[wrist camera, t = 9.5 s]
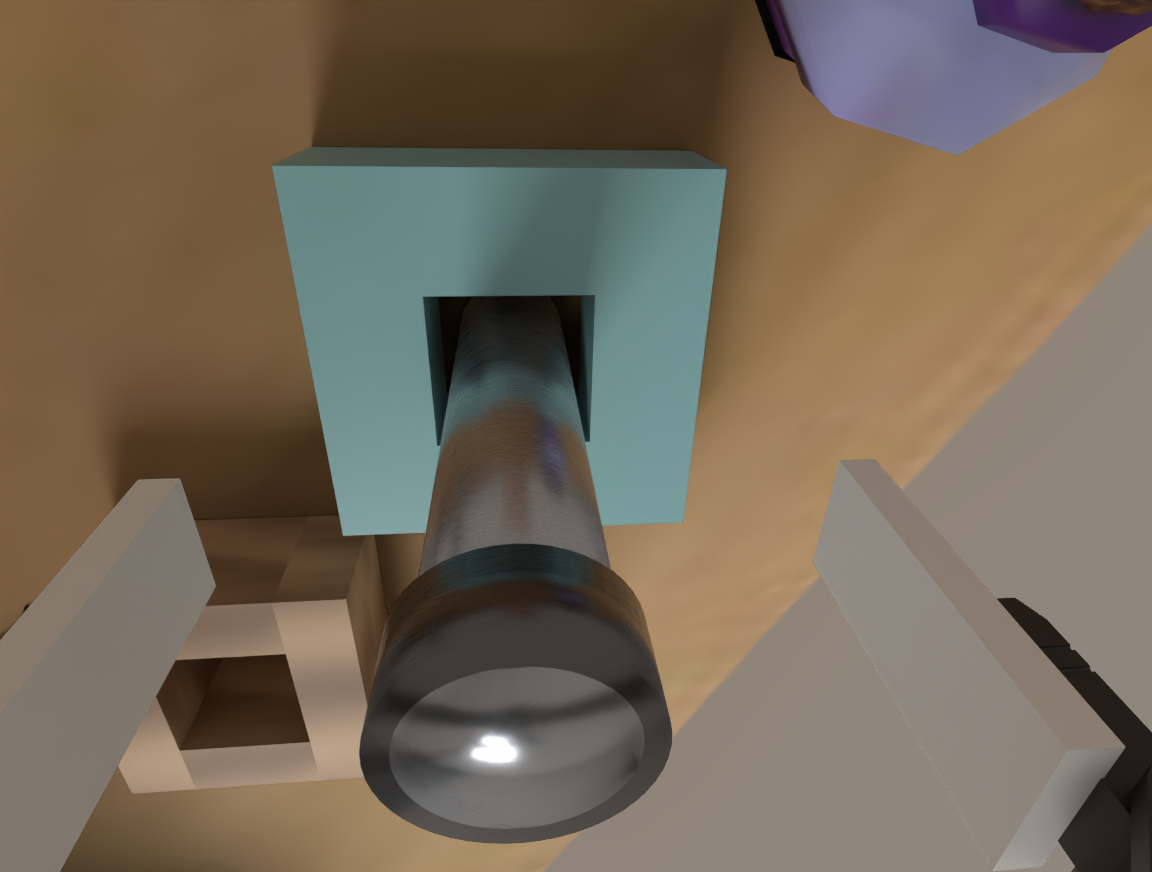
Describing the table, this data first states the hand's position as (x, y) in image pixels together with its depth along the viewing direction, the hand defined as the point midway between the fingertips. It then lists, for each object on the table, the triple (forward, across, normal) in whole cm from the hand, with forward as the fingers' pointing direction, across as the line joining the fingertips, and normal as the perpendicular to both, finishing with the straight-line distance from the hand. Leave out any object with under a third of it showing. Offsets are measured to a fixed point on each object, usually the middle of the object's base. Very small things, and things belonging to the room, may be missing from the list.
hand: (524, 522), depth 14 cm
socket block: (+12, 0, 0) cm, 12 cm away
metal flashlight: (+12, 0, 0) cm, 12 cm away
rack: (+12, +11, +13) cm, 21 cm away
